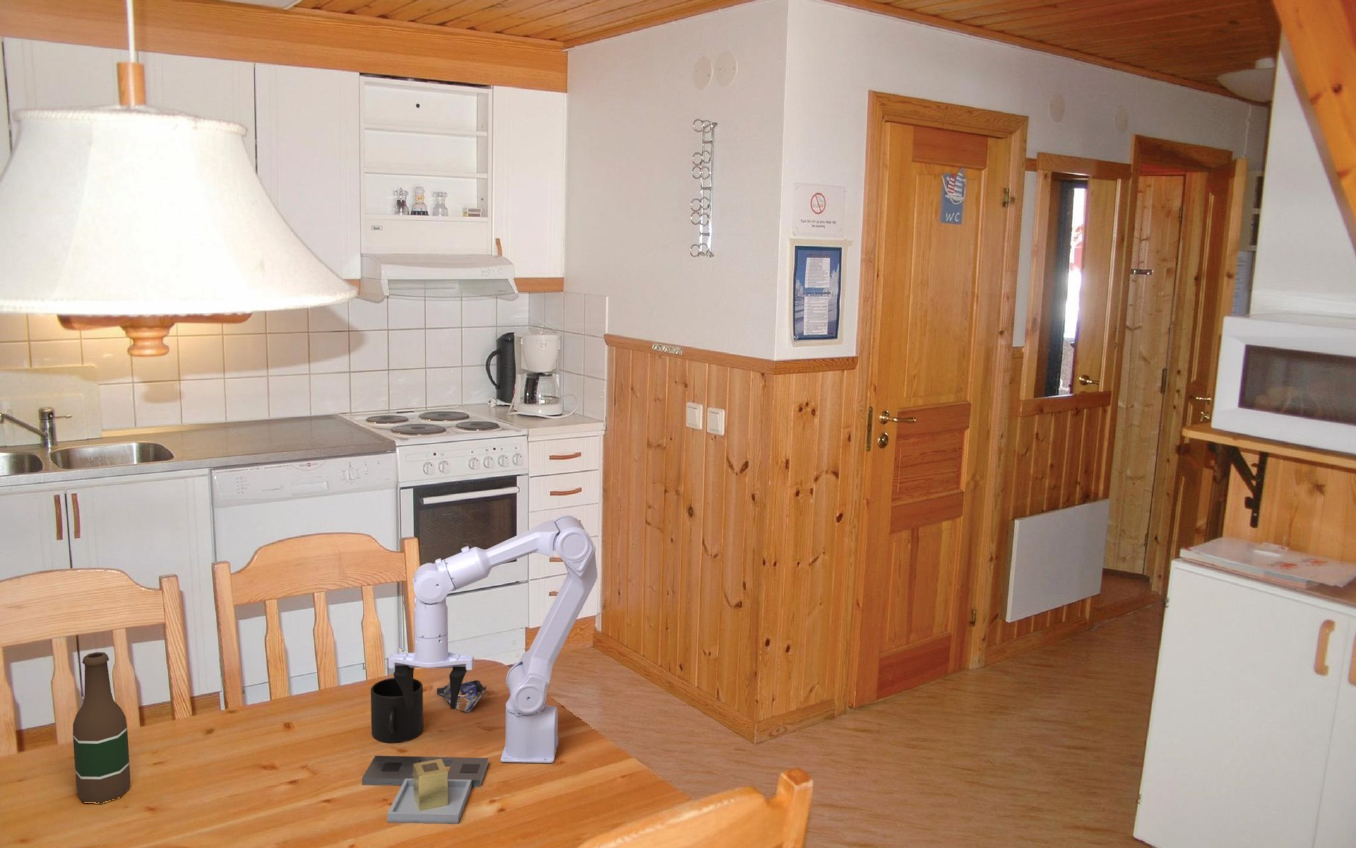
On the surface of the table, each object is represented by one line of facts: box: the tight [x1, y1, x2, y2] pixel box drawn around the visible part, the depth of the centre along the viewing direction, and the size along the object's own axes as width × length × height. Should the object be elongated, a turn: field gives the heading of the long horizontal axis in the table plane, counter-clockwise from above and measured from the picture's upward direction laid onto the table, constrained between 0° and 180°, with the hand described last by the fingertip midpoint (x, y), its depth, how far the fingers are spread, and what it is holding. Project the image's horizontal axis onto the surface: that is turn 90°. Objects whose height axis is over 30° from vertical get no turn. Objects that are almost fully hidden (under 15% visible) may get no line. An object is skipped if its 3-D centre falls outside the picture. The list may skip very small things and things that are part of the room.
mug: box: [370, 677, 424, 744], centre depth 191 cm, size 9×12×9 cm
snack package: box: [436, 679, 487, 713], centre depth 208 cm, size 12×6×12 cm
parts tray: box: [386, 778, 473, 825], centre depth 168 cm, size 11×11×2 cm
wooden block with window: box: [413, 759, 448, 811], centre depth 168 cm, size 5×5×6 cm
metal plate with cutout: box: [361, 755, 489, 788], centre depth 178 cm, size 20×8×1 cm, turn 91°
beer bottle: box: [72, 651, 131, 803], centre depth 167 cm, size 8×8×24 cm
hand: (431, 706), depth 181 cm, fingers open, 7 cm apart
